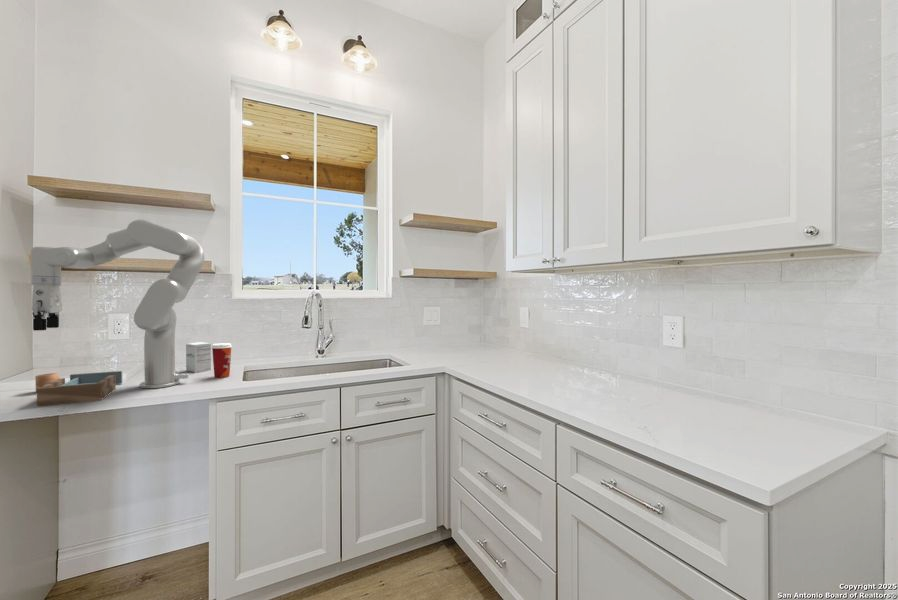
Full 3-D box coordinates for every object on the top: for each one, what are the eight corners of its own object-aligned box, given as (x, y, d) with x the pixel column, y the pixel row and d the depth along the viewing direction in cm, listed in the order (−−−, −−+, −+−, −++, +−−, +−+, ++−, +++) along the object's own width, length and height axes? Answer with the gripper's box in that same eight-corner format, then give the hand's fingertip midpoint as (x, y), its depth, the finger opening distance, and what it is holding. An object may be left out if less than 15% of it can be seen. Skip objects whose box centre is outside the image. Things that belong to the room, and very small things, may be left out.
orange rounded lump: (62, 388, 144) (62, 372, 144) (55, 392, 139) (54, 375, 139) (40, 390, 141) (40, 374, 141) (32, 394, 136) (31, 377, 136)
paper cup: (231, 377, 164) (231, 344, 164) (210, 379, 161) (210, 345, 161) (232, 373, 171) (232, 342, 171) (212, 375, 168) (212, 343, 168)
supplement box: (185, 371, 176) (185, 343, 176) (202, 368, 183) (202, 341, 182) (194, 372, 173) (194, 344, 172) (211, 369, 179) (211, 342, 179)
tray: (71, 386, 145) (71, 374, 145) (122, 383, 152) (122, 370, 152) (53, 396, 132) (52, 383, 132) (109, 392, 139) (109, 378, 139)
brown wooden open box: (59, 394, 137) (58, 378, 136) (115, 389, 144) (115, 374, 143) (37, 406, 123) (36, 388, 123) (100, 400, 130) (100, 383, 130)
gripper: (49, 281, 133) (49, 331, 133) (70, 282, 148) (70, 326, 149) (18, 280, 129) (19, 331, 130) (43, 281, 145) (43, 327, 145)
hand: (46, 328), depth 139 cm, fingers open, 9 cm apart
